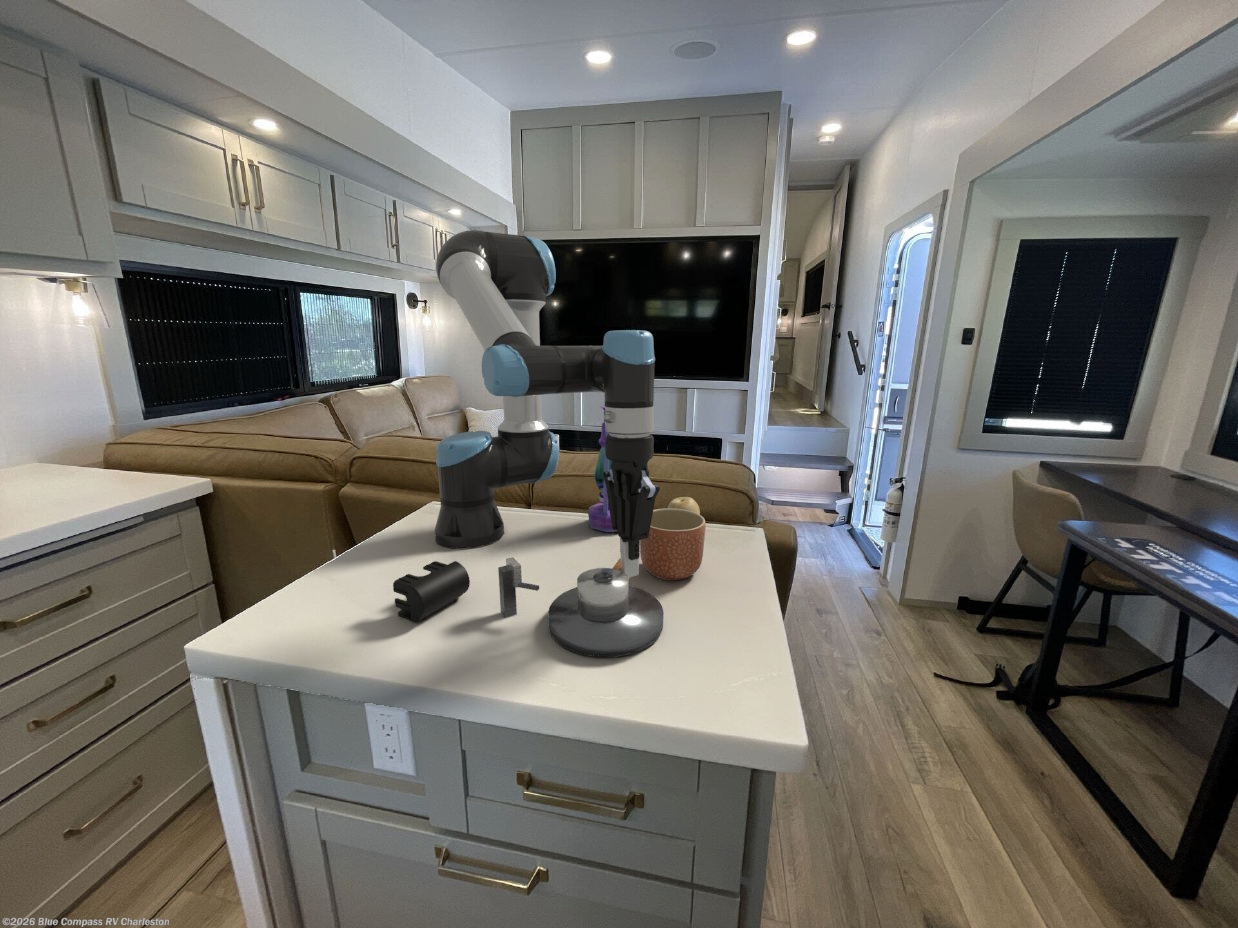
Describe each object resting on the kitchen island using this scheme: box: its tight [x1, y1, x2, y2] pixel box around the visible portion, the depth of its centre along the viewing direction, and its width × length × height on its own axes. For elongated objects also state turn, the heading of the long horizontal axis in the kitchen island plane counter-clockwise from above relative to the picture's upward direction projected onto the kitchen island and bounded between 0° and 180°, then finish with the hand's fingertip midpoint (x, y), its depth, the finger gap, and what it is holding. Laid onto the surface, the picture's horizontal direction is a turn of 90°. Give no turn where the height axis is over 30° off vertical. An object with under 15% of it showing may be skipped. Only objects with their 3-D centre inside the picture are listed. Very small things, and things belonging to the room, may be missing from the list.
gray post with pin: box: [497, 556, 540, 618], centre depth 79 cm, size 6×5×9 cm
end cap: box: [392, 560, 471, 623], centre depth 81 cm, size 10×7×7 cm
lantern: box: [587, 403, 618, 533], centre depth 115 cm, size 13×12×30 cm
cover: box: [576, 567, 630, 621], centre depth 77 cm, size 8×8×5 cm
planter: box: [639, 507, 706, 581], centre depth 94 cm, size 12×12×11 cm
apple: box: [667, 496, 701, 515], centre depth 118 cm, size 8×8×8 cm
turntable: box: [547, 557, 664, 658], centre depth 76 cm, size 18×18×7 cm
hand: (629, 575), depth 81 cm, fingers closed
